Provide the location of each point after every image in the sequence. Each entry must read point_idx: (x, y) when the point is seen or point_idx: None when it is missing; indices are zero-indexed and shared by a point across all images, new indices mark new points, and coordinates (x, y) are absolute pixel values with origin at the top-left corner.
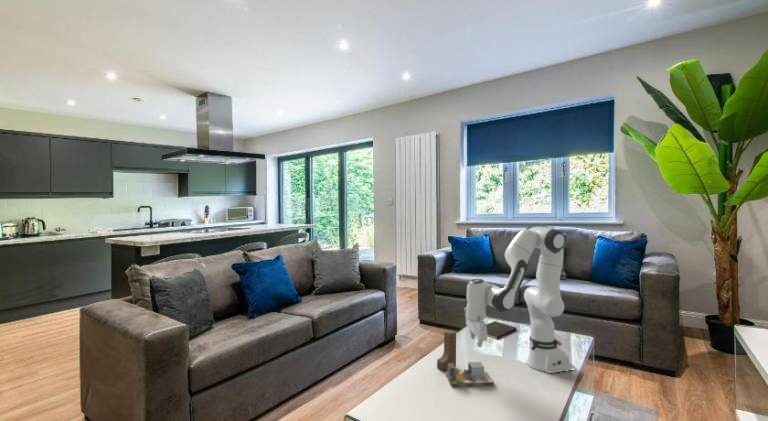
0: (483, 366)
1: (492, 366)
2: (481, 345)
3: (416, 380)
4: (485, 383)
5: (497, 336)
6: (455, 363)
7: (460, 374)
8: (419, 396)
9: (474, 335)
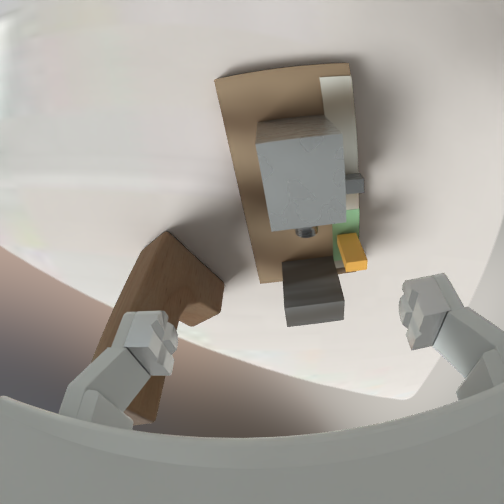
0: (334, 137)
1: (110, 42)
2: (449, 288)
3: (300, 349)
4: (352, 113)
5: None
6: (164, 243)
7: (365, 265)
8: (389, 339)
9: (153, 350)
